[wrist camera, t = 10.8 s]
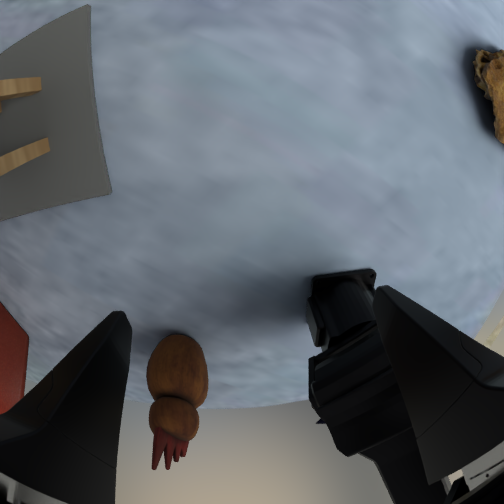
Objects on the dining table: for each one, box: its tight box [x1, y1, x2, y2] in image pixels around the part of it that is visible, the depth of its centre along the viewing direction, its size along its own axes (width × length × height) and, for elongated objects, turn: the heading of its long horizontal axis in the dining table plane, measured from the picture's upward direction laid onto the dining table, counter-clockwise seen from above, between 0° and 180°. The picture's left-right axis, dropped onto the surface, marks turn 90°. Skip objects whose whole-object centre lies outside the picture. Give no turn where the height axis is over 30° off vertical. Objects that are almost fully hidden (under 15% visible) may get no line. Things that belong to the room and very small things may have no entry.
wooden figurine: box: [146, 335, 208, 470], centre depth 23 cm, size 7×6×15 cm
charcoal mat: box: [0, 4, 112, 221], centre depth 15 cm, size 16×16×1 cm
